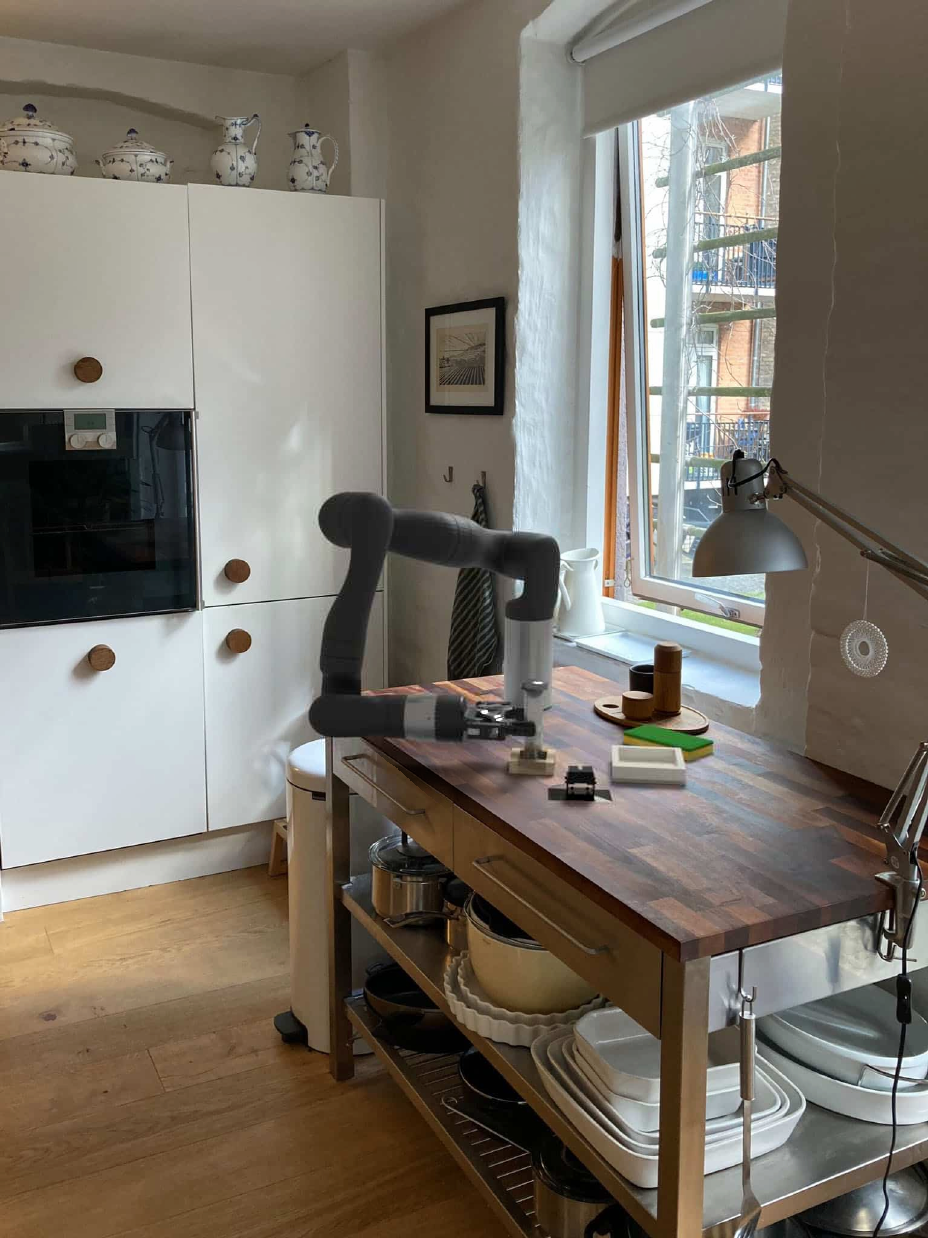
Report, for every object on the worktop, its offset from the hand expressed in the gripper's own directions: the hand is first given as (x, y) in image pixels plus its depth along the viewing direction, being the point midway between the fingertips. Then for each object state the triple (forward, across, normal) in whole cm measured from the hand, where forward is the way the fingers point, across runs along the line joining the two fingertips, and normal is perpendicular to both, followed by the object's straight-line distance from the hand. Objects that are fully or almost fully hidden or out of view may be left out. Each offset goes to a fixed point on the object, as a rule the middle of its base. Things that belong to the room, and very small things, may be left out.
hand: (537, 721), depth 178 cm
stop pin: (-1, 0, +8) cm, 8 cm away
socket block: (-1, 0, +8) cm, 8 cm away
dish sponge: (+21, +14, +8) cm, 27 cm away
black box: (+7, -12, +8) cm, 16 cm away
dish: (+17, 0, +8) cm, 19 cm away
